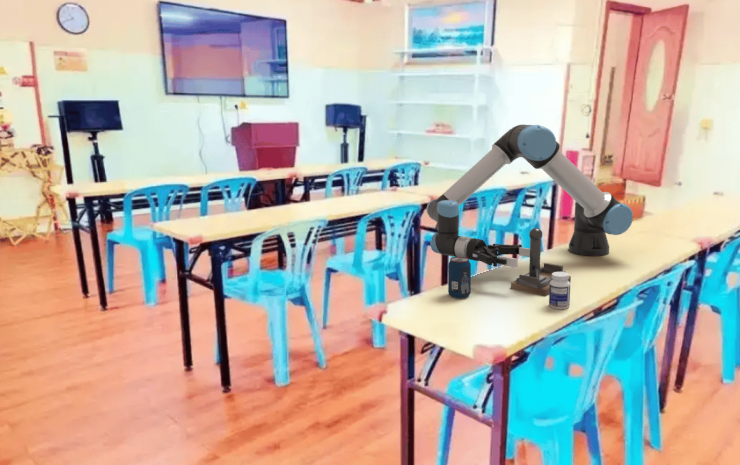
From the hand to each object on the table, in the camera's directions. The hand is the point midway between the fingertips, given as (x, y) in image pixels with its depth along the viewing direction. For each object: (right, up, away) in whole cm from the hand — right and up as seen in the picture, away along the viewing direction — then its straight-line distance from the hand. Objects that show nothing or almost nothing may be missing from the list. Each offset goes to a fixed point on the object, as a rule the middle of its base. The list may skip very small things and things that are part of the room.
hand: (527, 258), depth 178 cm
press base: (+6, -9, +5) cm, 12 cm away
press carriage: (+2, -8, +1) cm, 8 cm away
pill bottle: (+5, -13, -15) cm, 21 cm away
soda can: (-22, -12, -3) cm, 25 cm away
